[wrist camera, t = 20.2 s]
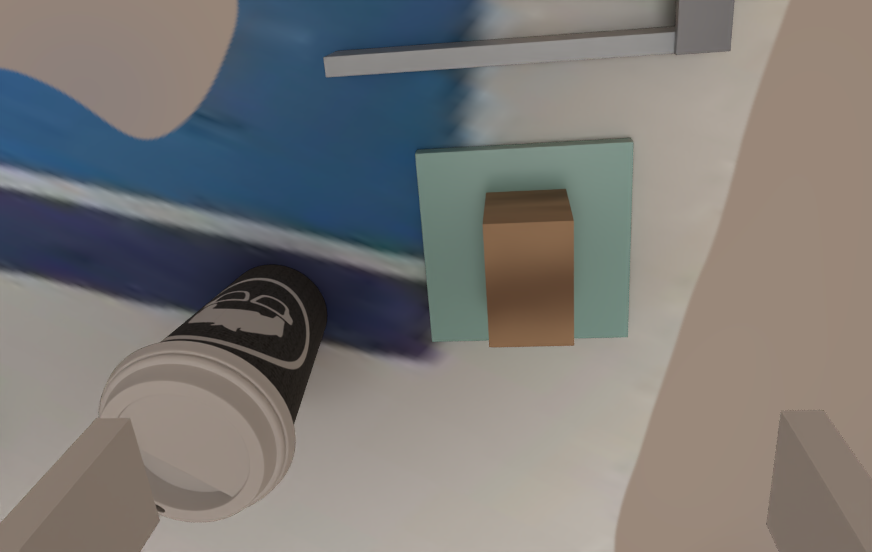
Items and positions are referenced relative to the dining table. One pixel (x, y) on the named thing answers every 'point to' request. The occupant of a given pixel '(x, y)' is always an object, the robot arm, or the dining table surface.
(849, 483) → the robot arm
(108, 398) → the coffee cup
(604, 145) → the teal coaster
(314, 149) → the dining table surface
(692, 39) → the grey channel
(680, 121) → the dining table surface
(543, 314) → the walnut block
